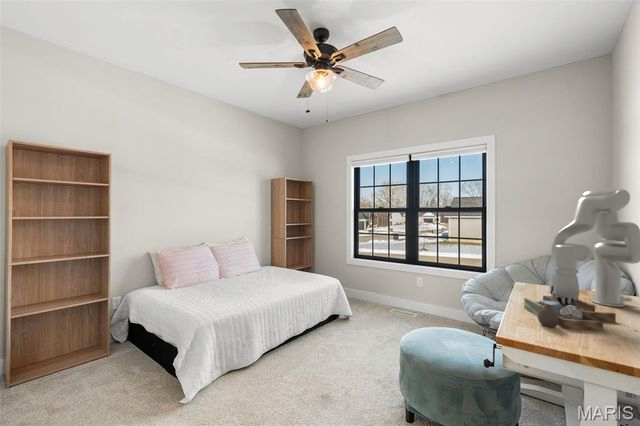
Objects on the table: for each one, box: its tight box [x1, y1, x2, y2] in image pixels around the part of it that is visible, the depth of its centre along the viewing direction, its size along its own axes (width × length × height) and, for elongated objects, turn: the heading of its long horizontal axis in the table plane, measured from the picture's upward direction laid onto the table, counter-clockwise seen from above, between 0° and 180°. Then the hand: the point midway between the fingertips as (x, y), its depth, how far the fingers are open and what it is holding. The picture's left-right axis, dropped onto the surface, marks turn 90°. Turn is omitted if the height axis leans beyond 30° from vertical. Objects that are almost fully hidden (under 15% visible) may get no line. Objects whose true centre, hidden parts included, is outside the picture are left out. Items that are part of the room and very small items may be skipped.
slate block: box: [539, 300, 562, 315], centre depth 137 cm, size 6×6×5 cm
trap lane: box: [523, 295, 617, 332], centre depth 136 cm, size 30×38×5 cm
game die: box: [559, 303, 584, 320], centre depth 125 cm, size 9×8×10 cm
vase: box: [537, 304, 559, 329], centre depth 122 cm, size 7×7×9 cm
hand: (564, 311), depth 136 cm, fingers closed
